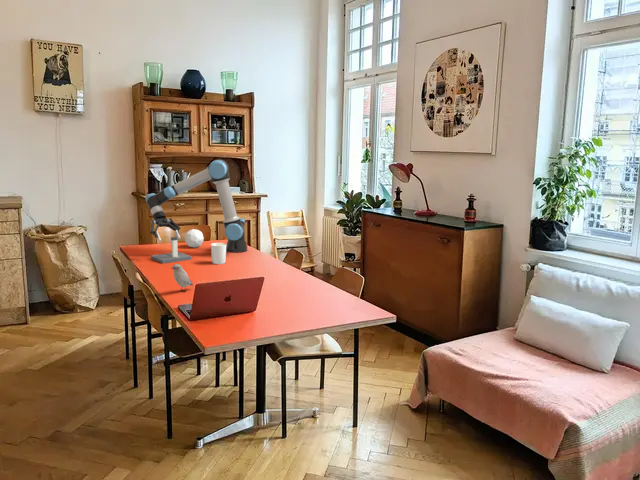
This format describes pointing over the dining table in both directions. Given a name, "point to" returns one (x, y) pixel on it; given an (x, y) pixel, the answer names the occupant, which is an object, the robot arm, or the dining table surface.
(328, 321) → the dining table surface
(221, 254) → the candle holder
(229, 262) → the dining table surface
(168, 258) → the board
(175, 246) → the fader knob
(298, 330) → the dining table surface
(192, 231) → the geodesic sphere
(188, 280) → the bird
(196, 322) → the dining table surface
